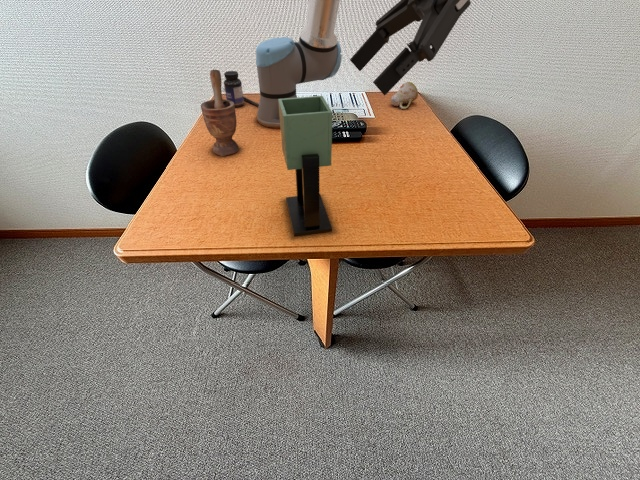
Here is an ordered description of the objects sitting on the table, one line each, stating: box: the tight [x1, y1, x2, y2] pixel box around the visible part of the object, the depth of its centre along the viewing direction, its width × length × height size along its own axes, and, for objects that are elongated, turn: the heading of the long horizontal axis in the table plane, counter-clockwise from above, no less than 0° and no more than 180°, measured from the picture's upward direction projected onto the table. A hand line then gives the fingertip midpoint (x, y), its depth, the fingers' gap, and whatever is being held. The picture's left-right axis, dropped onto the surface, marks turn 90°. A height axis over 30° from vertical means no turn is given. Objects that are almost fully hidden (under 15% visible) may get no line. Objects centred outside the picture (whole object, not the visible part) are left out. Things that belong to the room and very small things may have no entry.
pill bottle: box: [223, 70, 245, 108], centre depth 122 cm, size 6×6×11 cm
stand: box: [285, 154, 333, 237], centre depth 69 cm, size 8×13×17 cm, turn 11°
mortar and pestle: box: [200, 69, 240, 157], centre depth 93 cm, size 12×9×20 cm
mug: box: [390, 81, 419, 110], centre depth 124 cm, size 8×10×10 cm
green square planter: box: [278, 95, 333, 171], centre depth 62 cm, size 8×8×10 cm
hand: (365, 76), depth 58 cm, fingers open, 13 cm apart
